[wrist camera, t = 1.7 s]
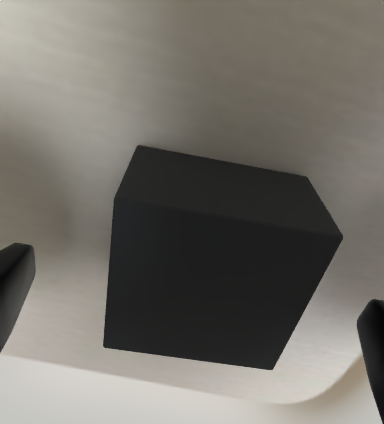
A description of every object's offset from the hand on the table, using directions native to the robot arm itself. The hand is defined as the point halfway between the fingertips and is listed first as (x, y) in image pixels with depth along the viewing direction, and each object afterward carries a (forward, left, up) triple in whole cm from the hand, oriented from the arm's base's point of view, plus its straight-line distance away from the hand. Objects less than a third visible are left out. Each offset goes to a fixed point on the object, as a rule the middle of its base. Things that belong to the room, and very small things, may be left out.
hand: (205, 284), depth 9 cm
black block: (0, 0, -2) cm, 2 cm away
